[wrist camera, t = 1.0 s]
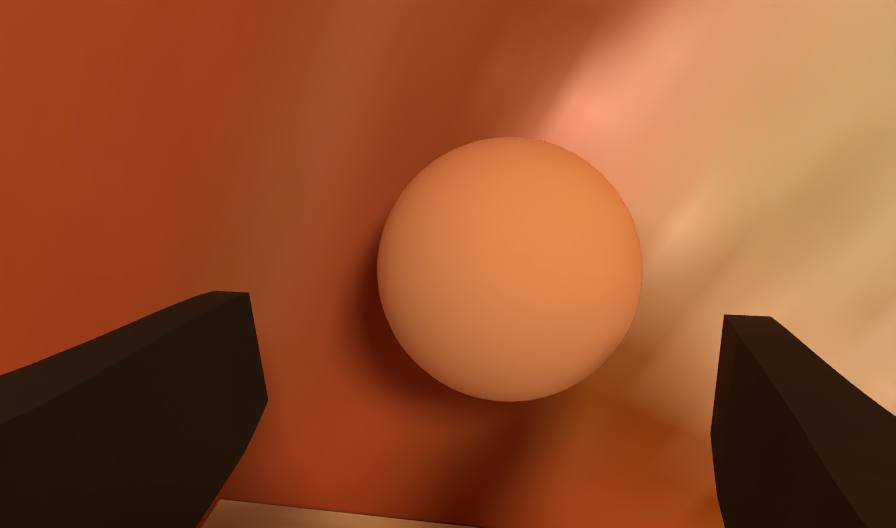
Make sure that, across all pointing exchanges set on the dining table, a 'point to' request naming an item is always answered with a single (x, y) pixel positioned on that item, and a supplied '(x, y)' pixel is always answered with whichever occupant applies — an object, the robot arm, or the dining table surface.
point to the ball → (509, 269)
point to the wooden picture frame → (301, 518)
